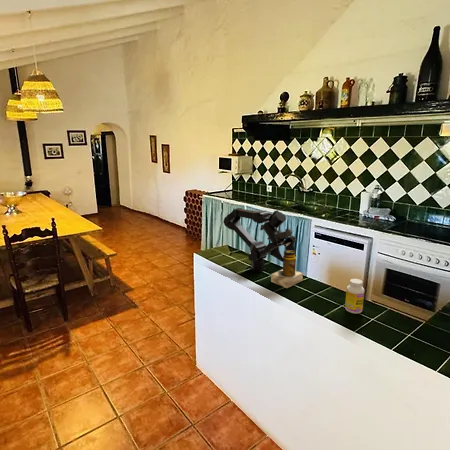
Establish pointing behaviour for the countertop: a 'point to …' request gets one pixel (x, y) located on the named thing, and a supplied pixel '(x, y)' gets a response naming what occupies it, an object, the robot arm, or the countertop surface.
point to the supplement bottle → (354, 296)
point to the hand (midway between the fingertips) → (289, 259)
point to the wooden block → (286, 279)
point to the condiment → (288, 264)
